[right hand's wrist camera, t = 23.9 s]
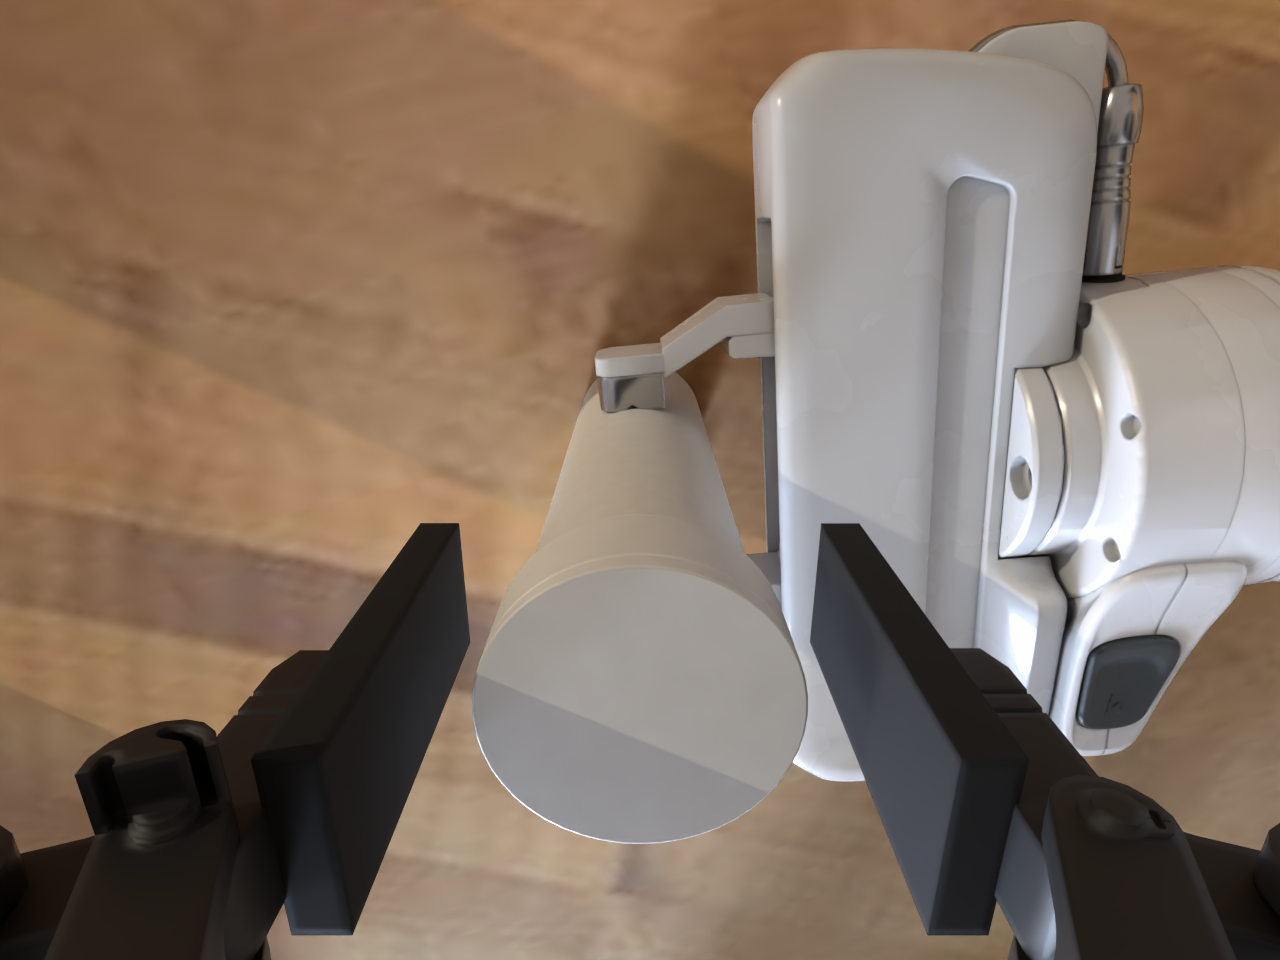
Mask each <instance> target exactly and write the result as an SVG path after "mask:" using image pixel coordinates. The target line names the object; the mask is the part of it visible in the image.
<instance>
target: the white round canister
mask: <svg viewBox="0 0 1280 960" xmlns="http://www.w3.org/2000/svg"><path fill="white" fill-rule="evenodd" d="M472 716H473V721H474V726H475V732H476V736H477V738H478V741H479V744H480V747H481V750H482V752H483V754H484V756H485V758H486V760H487V762H488V764H489V766H490V768H491V769H492V771H493V772H494V773H495V775H496V776H497V778H498V779H499V780H500V782H501V783H502V784H503V785H504V786H505V787H506V789H507V790H508V791H509V792H510V793H511V794H512V795H513V796H514V797H515V798H516V799H518V800H519V801H520V802H521V803H522V804H524V805H525V806H526V807H527V808H528V809H530V810H531V811H533V812H534V813H536V814H538V815H539V816H541V817H542V818H544V819H545V820H547V821H549V822H551V823H553V824H555V825H557V826H559V827H561V828H564V829H566V830H569V831H572V832H574V833H577V834H580V835H583V836H587V837H591V838H595V839H599V840H605V841H611V842H618V843H634V844H647V843H662V842H669V841H675V840H681V839H685V838H689V837H693V836H697V835H700V834H703V833H706V832H708V831H711V830H714V829H716V828H719V827H721V826H723V825H725V824H727V823H729V822H731V821H733V820H735V819H737V818H738V817H740V816H741V815H743V814H744V813H746V812H747V811H749V810H750V809H752V808H753V807H754V806H755V805H757V804H758V803H759V802H760V801H761V800H763V799H764V798H765V797H766V796H767V795H768V794H769V793H770V792H771V791H772V790H773V789H774V788H775V787H776V785H777V784H778V783H779V782H780V781H781V779H782V778H783V777H784V775H785V774H786V772H787V771H788V769H789V768H790V766H791V764H792V762H793V761H794V759H795V757H796V755H797V753H798V751H799V748H800V745H801V742H802V739H803V736H804V733H805V728H806V722H807V716H808V692H807V685H806V679H805V675H804V672H803V668H802V665H801V662H800V659H799V656H798V653H797V651H796V648H795V645H794V642H793V640H792V637H791V634H790V631H789V629H788V626H787V623H786V620H785V618H784V615H783V612H782V609H781V607H780V604H779V601H778V599H777V597H776V594H775V592H774V590H773V588H772V586H771V584H770V583H769V581H768V580H767V578H766V577H765V575H764V574H763V573H762V571H761V570H760V568H759V567H758V566H757V565H756V564H755V563H754V562H753V561H752V560H751V559H750V558H749V557H748V556H747V555H746V554H745V553H744V552H743V551H741V550H740V549H739V548H738V547H736V546H735V545H734V544H733V543H731V542H729V541H728V540H726V539H725V538H723V537H721V536H720V535H718V534H716V533H714V532H712V531H710V530H708V529H705V528H703V527H701V526H699V525H695V524H692V523H689V522H686V521H683V520H679V519H673V518H668V517H662V516H650V515H630V516H618V517H612V518H607V519H602V520H597V521H594V522H591V523H588V524H585V525H582V526H579V527H577V528H575V529H573V530H570V531H568V532H566V533H564V534H562V535H560V536H559V537H557V538H556V539H554V540H552V541H551V542H549V543H548V544H546V545H545V546H544V547H542V548H541V549H540V550H539V551H538V552H536V553H535V554H534V555H533V556H532V557H531V558H530V559H529V560H528V561H527V562H526V563H525V564H524V565H523V567H522V568H521V569H520V570H519V571H518V573H517V574H516V576H515V577H514V579H513V580H512V582H511V583H510V585H509V586H508V589H507V591H506V593H505V595H504V597H503V599H502V601H501V604H500V607H499V610H498V612H497V615H496V618H495V621H494V623H493V626H492V629H491V632H490V634H489V637H488V640H487V643H486V645H485V649H484V651H483V654H482V656H481V659H480V662H479V666H478V669H477V672H476V676H475V679H474V686H473V694H472Z"/></svg>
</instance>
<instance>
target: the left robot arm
mask: <svg viewBox="0 0 1280 960" xmlns="http://www.w3.org/2000/svg"><path fill="white" fill-rule="evenodd" d="M1105 71H1106V74H1107V80H1108V87H1107V88H1103V82H1104V73H1105ZM1143 111H1144V104H1143V90H1142V85H1141V84H1137V83H1134V84H1128V72H1127V66H1126V62H1125V58H1124V56H1123V54H1122V52H1121V49H1120V48H1119V46H1118V44H1117V43H1116V42H1115V41H1114V39H1113V38H1112V37H1111V36H1110V35H1109V34H1108V33H1107V32H1106V31H1105V29H1104V28H1103V27H1101V26H1099V25H1097V24H1094V23H1090V22H1086V21H1080V20H1072V19H1070V20H1060V21H1050V22H1041V23H1031V24H1021V25H1013V26H1009V27H1006V28H1002V29H1000V30H998V31H996V32H994V33H992V34H990V35H988V36H986V37H985V38H984V39H982V40H981V41H979V42H978V43H977V44H976V45H975V46H974V47H972V48H971V49H970V50H969V51H955V50H939V49H913V48H874V49H849V50H835V51H825V52H818V53H814V54H811V55H809V56H806V57H804V58H802V59H800V60H798V61H796V62H795V63H793V64H792V65H791V66H790V67H789V68H788V69H786V70H785V71H784V72H783V73H782V74H781V75H780V76H779V77H778V78H777V79H776V80H775V82H774V83H773V84H772V85H771V86H770V88H769V89H768V91H767V92H766V93H765V95H764V96H763V97H762V99H761V100H760V101H759V103H758V104H757V106H756V108H755V110H754V113H753V120H752V135H753V165H754V194H755V224H756V253H757V283H758V293H754V294H744V295H734V296H724V297H717V298H715V299H714V300H713V301H711V302H710V303H708V304H707V305H706V306H704V307H703V308H701V309H700V310H699V311H697V312H696V313H695V314H693V315H692V316H690V317H689V318H688V319H686V320H685V321H683V322H682V323H681V324H679V325H678V326H676V327H675V328H674V329H672V330H671V331H669V332H668V333H667V334H665V335H664V336H663V337H661V338H660V343H651V344H640V345H629V346H618V347H610V348H605V349H601V350H598V351H597V352H596V355H595V366H596V375H597V383H598V391H599V398H600V406H601V410H602V411H604V412H620V411H625V410H627V409H628V408H629V407H630V406H632V405H633V406H635V407H637V408H639V409H657V408H666V406H665V390H664V376H665V378H666V377H668V376H669V375H671V374H672V373H674V372H675V371H677V370H678V369H680V368H681V367H683V366H684V365H686V364H687V363H689V362H690V361H692V360H693V359H695V358H696V357H698V356H699V355H701V354H702V353H704V352H705V351H707V350H708V349H710V348H711V347H713V346H714V345H716V344H717V343H719V342H720V341H721V343H722V344H723V346H724V348H725V349H726V351H727V352H728V354H729V355H730V356H731V357H732V358H733V359H741V358H755V357H760V371H761V401H762V430H763V460H764V489H765V519H766V548H767V553H758V554H748V555H747V556H748V557H749V558H750V559H751V560H752V561H753V562H754V563H755V564H756V565H757V566H758V567H759V568H760V570H761V571H762V573H763V574H764V575H765V577H766V578H767V580H768V581H769V583H770V584H771V586H772V588H773V590H774V592H775V594H776V597H777V599H778V601H779V604H780V607H781V609H782V612H783V615H784V618H785V620H786V623H787V626H788V629H789V631H790V634H791V637H792V640H793V642H794V645H795V648H796V651H797V653H798V656H799V659H800V662H801V665H802V668H803V672H804V675H805V679H806V685H807V692H808V716H807V722H806V728H805V733H804V736H803V739H802V742H801V745H800V748H799V751H798V753H797V755H796V757H795V759H794V761H793V762H792V763H794V764H796V765H797V766H799V767H800V768H802V769H804V770H806V771H808V772H810V773H812V774H814V775H816V776H817V777H819V778H822V779H825V780H830V781H865V778H864V776H863V773H862V771H861V768H860V766H859V763H858V761H857V758H856V756H855V753H854V751H853V748H852V746H851V743H850V741H849V738H848V736H847V733H846V731H845V728H844V726H843V723H842V721H841V718H840V716H839V713H838V711H837V708H836V706H835V703H834V701H833V698H832V696H831V693H830V691H829V688H828V686H827V683H826V681H825V678H824V676H823V673H822V671H821V668H820V666H819V664H818V661H817V659H816V656H815V654H814V651H813V649H812V646H811V644H810V635H811V624H812V614H813V603H814V593H815V582H816V572H817V561H818V551H819V540H820V530H821V523H859V524H860V525H861V526H862V528H863V529H864V530H865V532H866V533H867V535H868V536H869V537H870V539H871V540H872V542H873V543H874V544H875V546H876V547H877V548H878V550H879V551H880V553H881V554H882V555H883V557H884V558H885V560H886V561H887V562H888V564H889V565H890V567H891V568H892V569H893V571H894V572H895V573H896V575H897V576H898V578H899V579H900V580H901V582H902V583H903V585H904V586H905V587H906V589H907V590H908V591H909V593H910V594H911V596H912V597H913V598H914V600H915V601H916V603H917V604H918V605H919V607H920V608H921V609H922V611H923V612H924V614H925V615H926V616H927V618H928V619H929V621H930V622H931V623H932V625H933V626H934V628H935V629H936V630H937V632H938V633H939V634H940V636H941V637H942V639H943V640H944V641H945V643H946V644H947V646H948V647H949V648H980V649H982V650H983V651H985V652H986V653H988V654H989V655H991V656H992V657H994V658H995V659H997V660H998V661H1000V662H1001V663H1003V664H1004V665H1006V666H1007V667H1009V668H1010V670H1011V671H1012V672H1013V673H1014V674H1015V676H1016V677H1017V678H1018V679H1019V680H1020V682H1021V683H1022V684H1023V685H1024V687H1025V688H1026V689H1027V694H1031V695H1032V696H1033V697H1034V699H1035V700H1036V701H1037V702H1038V704H1039V705H1040V706H1041V707H1042V712H1043V713H1047V715H1048V716H1049V717H1050V718H1051V719H1052V721H1053V722H1054V723H1055V724H1056V725H1057V727H1058V728H1059V729H1060V730H1061V732H1062V733H1063V734H1064V735H1065V736H1066V738H1067V739H1068V740H1069V741H1070V742H1071V744H1072V745H1073V746H1074V747H1075V749H1076V750H1077V751H1078V752H1079V753H1080V755H1081V756H1098V755H1107V754H1113V753H1116V752H1120V751H1122V750H1124V749H1126V748H1127V747H1129V746H1130V745H1131V744H1132V743H1133V742H1134V741H1135V740H1136V739H1137V737H1138V736H1139V735H1140V733H1141V732H1142V730H1143V728H1144V727H1145V725H1146V723H1147V722H1148V720H1149V718H1150V716H1151V715H1152V713H1153V711H1154V709H1155V708H1156V706H1157V704H1158V702H1159V701H1160V699H1161V697H1162V696H1163V694H1164V692H1165V691H1166V689H1167V687H1168V686H1169V684H1170V683H1171V681H1172V679H1173V678H1174V676H1175V675H1176V673H1177V672H1178V670H1179V668H1180V667H1181V665H1182V664H1183V663H1184V661H1185V660H1186V658H1187V657H1188V655H1189V654H1190V653H1191V651H1192V650H1193V648H1194V647H1195V646H1196V644H1197V643H1198V642H1199V640H1200V639H1201V638H1202V637H1203V635H1204V634H1205V633H1206V631H1207V630H1208V629H1209V628H1210V626H1211V625H1212V624H1213V623H1214V622H1215V621H1216V620H1217V619H1218V617H1219V616H1220V615H1221V614H1222V613H1223V612H1224V611H1225V610H1226V608H1227V607H1228V606H1229V605H1230V604H1231V603H1232V601H1233V600H1234V599H1235V597H1236V596H1237V595H1238V593H1239V591H1240V590H1241V588H1242V586H1243V585H1252V584H1258V583H1263V582H1271V581H1279V582H1280V270H1276V269H1271V268H1265V267H1259V266H1242V265H1227V266H1217V267H1203V268H1192V269H1182V270H1171V271H1160V272H1149V273H1139V274H1128V275H1122V269H1123V262H1124V255H1125V247H1126V240H1127V233H1128V225H1129V217H1130V202H1131V201H1129V198H1130V189H1128V188H1129V187H1130V181H1131V178H1129V175H1131V166H1130V163H1132V159H1133V153H1134V146H1135V143H1138V141H1139V137H1140V133H1141V128H1142V122H1143ZM663 373H664V374H663Z"/></svg>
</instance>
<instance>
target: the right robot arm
mask: <svg viewBox="0 0 1280 960" xmlns="http://www.w3.org/2000/svg"><path fill="white" fill-rule="evenodd" d="M469 644H470V635H469V624H468V614H467V603H466V593H465V582H464V572H463V561H462V551H461V540H460V530H459V523H421V524H420V525H419V526H418V528H417V529H416V530H415V532H414V533H413V535H412V536H411V537H410V539H409V540H408V542H407V543H406V544H405V546H404V547H403V548H402V550H401V551H400V553H399V554H398V555H397V557H396V558H395V560H394V561H393V562H392V564H391V565H390V567H389V568H388V569H387V571H386V572H385V573H384V575H383V576H382V578H381V579H380V580H379V582H378V583H377V585H376V586H375V587H374V589H373V590H372V591H371V593H370V594H369V596H368V597H367V598H366V600H365V601H364V603H363V604H362V605H361V607H360V608H359V609H358V611H357V612H356V614H355V615H354V616H353V618H352V619H351V621H350V622H349V623H348V625H347V626H346V628H345V629H344V630H343V632H342V633H341V634H340V636H339V637H338V639H337V640H336V641H335V643H334V644H333V646H332V647H331V648H330V650H300V651H299V652H297V653H296V654H294V655H293V656H291V657H290V658H288V659H287V660H285V661H284V662H282V663H281V664H279V665H278V666H276V667H275V668H273V669H272V670H271V671H270V672H269V674H268V675H267V676H266V677H265V679H264V680H263V681H262V682H261V683H260V685H259V686H258V687H257V688H256V690H255V691H254V694H253V696H250V697H249V698H248V699H247V701H246V702H245V703H244V704H243V705H242V707H241V708H240V709H239V710H238V715H234V716H233V718H232V719H231V720H230V721H229V723H228V724H227V725H226V726H225V727H224V729H223V730H222V731H221V732H220V734H219V735H218V736H216V732H215V731H214V730H213V729H212V728H211V727H209V726H208V725H207V724H206V723H204V722H198V721H193V720H187V719H184V720H174V721H164V722H159V723H156V724H152V725H149V726H146V727H142V728H139V729H136V730H133V731H131V732H129V733H127V734H125V735H123V736H121V737H119V738H117V739H115V740H113V741H111V742H109V743H108V744H106V745H105V746H104V747H102V748H101V749H100V750H98V751H97V752H96V753H94V754H93V755H92V756H90V757H89V758H88V759H87V760H86V761H85V763H84V764H83V765H82V767H81V768H80V769H79V770H78V772H77V773H76V774H75V778H76V781H77V784H78V787H79V790H80V792H81V795H82V798H83V801H84V804H85V807H86V810H87V813H88V816H89V819H90V822H91V825H92V828H93V830H94V833H95V836H92V837H89V838H85V839H81V840H77V841H73V842H69V843H64V844H60V845H56V846H51V847H47V848H43V849H39V850H34V851H30V852H26V853H22V854H20V852H19V850H18V847H17V845H16V842H15V840H14V837H13V835H12V833H11V832H9V831H8V830H6V829H5V828H3V827H2V826H0V960H271V955H270V949H269V944H268V940H267V934H268V932H269V930H270V928H271V926H272V924H273V922H274V920H275V918H276V917H277V915H278V913H279V911H280V909H281V907H282V905H283V903H284V905H285V909H286V913H287V918H288V922H289V926H290V931H291V935H353V932H354V930H355V927H356V925H357V922H358V920H359V917H360V915H361V912H362V910H363V907H364V905H365V902H366V900H367V898H368V895H369V893H370V890H371V888H372V885H373V883H374V880H375V878H376V875H377V873H378V870H379V868H380V865H381V863H382V860H383V858H384V855H385V853H386V850H387V848H388V845H389V843H390V840H391V838H392V835H393V833H394V830H395V828H396V825H397V823H398V820H399V818H400V815H401V813H402V810H403V808H404V805H405V803H406V800H407V798H408V795H409V793H410V790H411V788H412V785H413V783H414V781H415V778H416V776H417V773H418V771H419V768H420V766H421V763H422V761H423V758H424V756H425V753H426V751H427V748H428V746H429V743H430V741H431V738H432V736H433V733H434V731H435V728H436V726H437V723H438V721H439V718H440V716H441V713H442V711H443V708H444V706H445V703H446V701H447V698H448V696H449V693H450V691H451V688H452V686H453V683H454V681H455V678H456V676H457V673H458V671H459V668H460V666H461V664H462V661H463V659H464V656H465V654H466V651H467V649H468V646H469ZM810 644H811V646H812V649H813V651H814V654H815V656H816V659H817V661H818V664H819V666H820V668H821V671H822V673H823V676H824V678H825V681H826V683H827V686H828V688H829V691H830V693H831V696H832V698H833V701H834V703H835V706H836V708H837V711H838V713H839V716H840V718H841V721H842V723H843V726H844V728H845V731H846V733H847V736H848V738H849V741H850V743H851V746H852V748H853V751H854V753H855V756H856V758H857V761H858V763H859V766H860V768H861V771H862V773H863V776H864V778H865V781H866V783H867V785H868V788H869V790H870V793H871V795H872V798H873V800H874V803H875V805H876V808H877V810H878V813H879V815H880V818H881V820H882V823H883V825H884V828H885V830H886V833H887V835H888V838H889V840H890V843H891V845H892V848H893V850H894V853H895V855H896V858H897V860H898V863H899V865H900V868H901V870H902V873H903V875H904V878H905V880H906V883H907V885H908V888H909V890H910V893H911V895H912V898H913V900H914V902H915V905H916V907H917V910H918V912H919V915H920V917H921V920H922V922H923V925H924V927H925V930H926V932H927V935H989V931H990V926H991V922H992V918H993V913H994V909H995V905H996V901H998V903H999V905H1000V907H1001V909H1002V911H1003V913H1004V915H1005V917H1006V919H1007V921H1008V922H1009V924H1010V926H1011V928H1012V930H1013V932H1014V936H1013V940H1012V944H1011V948H1010V952H1009V956H1008V960H1280V823H1279V824H1278V825H1276V826H1275V827H1273V828H1272V829H1270V830H1269V832H1268V835H1267V837H1266V840H1265V842H1264V845H1263V847H1262V850H1261V851H1259V850H1255V849H1250V848H1246V847H1242V846H1238V845H1233V844H1229V843H1225V842H1220V841H1216V840H1212V839H1208V838H1203V837H1199V836H1195V835H1192V834H1188V833H1185V832H1183V831H1182V829H1181V828H1180V826H1179V825H1178V823H1177V822H1176V820H1175V819H1174V817H1173V816H1172V815H1171V814H1169V813H1168V812H1167V811H1166V810H1165V809H1163V808H1162V807H1161V806H1160V805H1159V804H1158V803H1156V802H1155V801H1154V800H1153V799H1151V798H1149V797H1148V796H1146V795H1144V794H1142V793H1140V792H1138V791H1137V790H1135V789H1133V788H1131V787H1129V786H1127V785H1124V784H1121V783H1118V782H1115V781H1112V780H1109V779H1106V778H1103V777H1098V775H1097V774H1096V773H1095V772H1094V770H1093V769H1092V768H1091V767H1090V766H1089V764H1088V763H1087V762H1086V761H1085V759H1084V758H1083V757H1082V756H1081V755H1080V753H1079V752H1078V751H1077V750H1076V749H1075V747H1074V746H1073V745H1072V744H1071V742H1070V741H1069V740H1068V739H1067V738H1066V736H1065V735H1064V734H1063V733H1062V732H1061V730H1060V729H1059V728H1058V727H1057V725H1056V724H1055V723H1054V722H1053V721H1052V719H1051V718H1050V717H1049V716H1048V715H1047V713H1043V712H1042V707H1041V706H1040V705H1039V704H1038V702H1037V701H1036V700H1035V699H1034V697H1033V696H1032V695H1031V694H1027V689H1026V688H1025V687H1024V685H1023V684H1022V683H1021V682H1020V680H1019V679H1018V678H1017V677H1016V676H1015V674H1014V673H1013V672H1012V671H1011V670H1010V668H1009V667H1007V666H1006V665H1004V664H1003V663H1001V662H1000V661H998V660H997V659H995V658H994V657H992V656H991V655H989V654H988V653H986V652H985V651H983V650H982V649H980V648H949V647H948V646H947V644H946V643H945V641H944V640H943V639H942V637H941V636H940V634H939V633H938V632H937V630H936V629H935V628H934V626H933V625H932V623H931V622H930V621H929V619H928V618H927V616H926V615H925V614H924V612H923V611H922V609H921V608H920V607H919V605H918V604H917V603H916V601H915V600H914V598H913V597H912V596H911V594H910V593H909V591H908V590H907V589H906V587H905V586H904V585H903V583H902V582H901V580H900V579H899V578H898V576H897V575H896V573H895V572H894V571H893V569H892V568H891V567H890V565H889V564H888V562H887V561H886V560H885V558H884V557H883V555H882V554H881V553H880V551H879V550H878V548H877V547H876V546H875V544H874V543H873V542H872V540H871V539H870V537H869V536H868V535H867V533H866V532H865V530H864V529H863V528H862V526H861V525H860V524H859V523H821V530H820V540H819V551H818V561H817V572H816V582H815V593H814V603H813V614H812V624H811V635H810Z"/></svg>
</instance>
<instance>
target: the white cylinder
mask: <svg viewBox="0 0 1280 960" xmlns="http://www.w3.org/2000/svg"><path fill="white" fill-rule="evenodd" d="M663 374H664V373H663ZM664 390H665V406H666V408H657V409H639V408H637V407H635V406H633V405H632V406H630V407H629V408H628V409H627V410H625V411H620V412H604V411H602V410H601V406H600V398H599V391H598V383H597V379H596V380H595V381H594V383H593V384H592V385H591V386H590V388H589V390H588V391H587V393H586V395H585V397H584V400H583V403H582V406H581V409H580V413H579V416H578V419H577V422H576V425H575V429H574V432H573V435H572V438H571V441H570V445H569V448H568V451H567V454H566V457H565V460H564V464H563V467H562V470H561V473H560V476H559V480H558V483H557V486H556V489H555V492H554V496H553V499H552V502H551V505H550V508H549V512H548V515H547V518H546V521H545V524H544V528H543V531H542V534H541V537H540V540H539V544H538V547H537V550H536V552H538V551H539V550H540V549H541V548H542V547H544V546H545V545H546V544H548V543H549V542H551V541H552V540H554V539H556V538H557V537H559V536H560V535H562V534H564V533H566V532H568V531H570V530H573V529H575V528H577V527H579V526H582V525H585V524H588V523H591V522H594V521H597V520H602V519H607V518H612V517H618V516H630V515H650V516H662V517H668V518H673V519H679V520H683V521H686V522H689V523H692V524H695V525H699V526H701V527H703V528H705V529H708V530H710V531H712V532H714V533H716V534H718V535H720V536H721V537H723V538H725V539H726V540H728V541H729V542H731V543H733V544H734V545H735V546H736V547H738V548H739V549H740V550H741V551H743V552H744V549H743V546H742V543H741V540H740V536H739V533H738V530H737V527H736V524H735V521H734V517H733V514H732V511H731V508H730V505H729V501H728V498H727V495H726V492H725V489H724V485H723V482H722V479H721V476H720V473H719V469H718V466H717V463H716V460H715V457H714V453H713V450H712V447H711V444H710V441H709V438H708V434H707V431H706V428H705V425H704V422H703V418H702V415H701V412H700V409H699V406H698V403H697V399H696V397H695V395H694V393H693V391H692V389H691V388H690V386H689V385H688V384H687V382H686V381H685V380H684V379H683V378H682V377H681V376H680V375H678V374H677V373H676V372H674V373H672V374H671V375H669V376H668V377H666V378H665V376H664ZM744 553H745V552H744Z"/></svg>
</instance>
